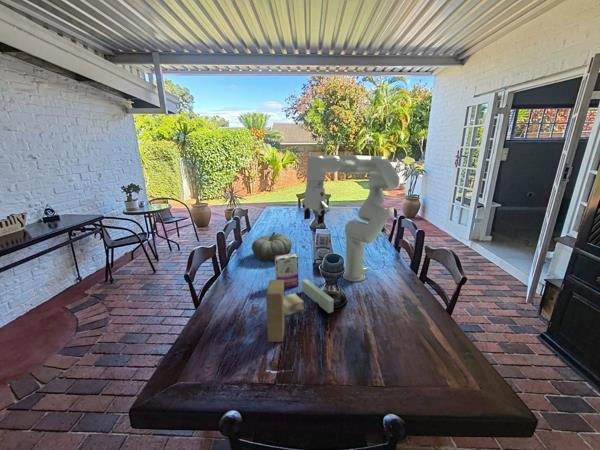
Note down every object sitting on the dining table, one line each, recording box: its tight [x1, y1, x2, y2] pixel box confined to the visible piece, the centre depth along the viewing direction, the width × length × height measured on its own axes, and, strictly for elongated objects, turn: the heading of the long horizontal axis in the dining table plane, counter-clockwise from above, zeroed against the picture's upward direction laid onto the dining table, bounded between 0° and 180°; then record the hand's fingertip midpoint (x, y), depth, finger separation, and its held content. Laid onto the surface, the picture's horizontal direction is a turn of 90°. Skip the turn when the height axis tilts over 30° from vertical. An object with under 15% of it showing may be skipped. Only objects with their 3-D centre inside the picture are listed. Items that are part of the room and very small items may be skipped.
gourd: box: [251, 231, 293, 262], centre depth 176 cm, size 25×25×17 cm
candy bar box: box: [274, 253, 299, 289], centre depth 141 cm, size 11×5×16 cm, turn 105°
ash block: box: [283, 292, 305, 317], centre depth 123 cm, size 9×8×4 cm
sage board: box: [301, 278, 335, 314], centre depth 129 cm, size 2×22×6 cm, turn 31°
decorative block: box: [265, 279, 286, 343], centre depth 105 cm, size 11×6×20 cm, turn 178°
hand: (313, 221), depth 129 cm, fingers open, 9 cm apart
